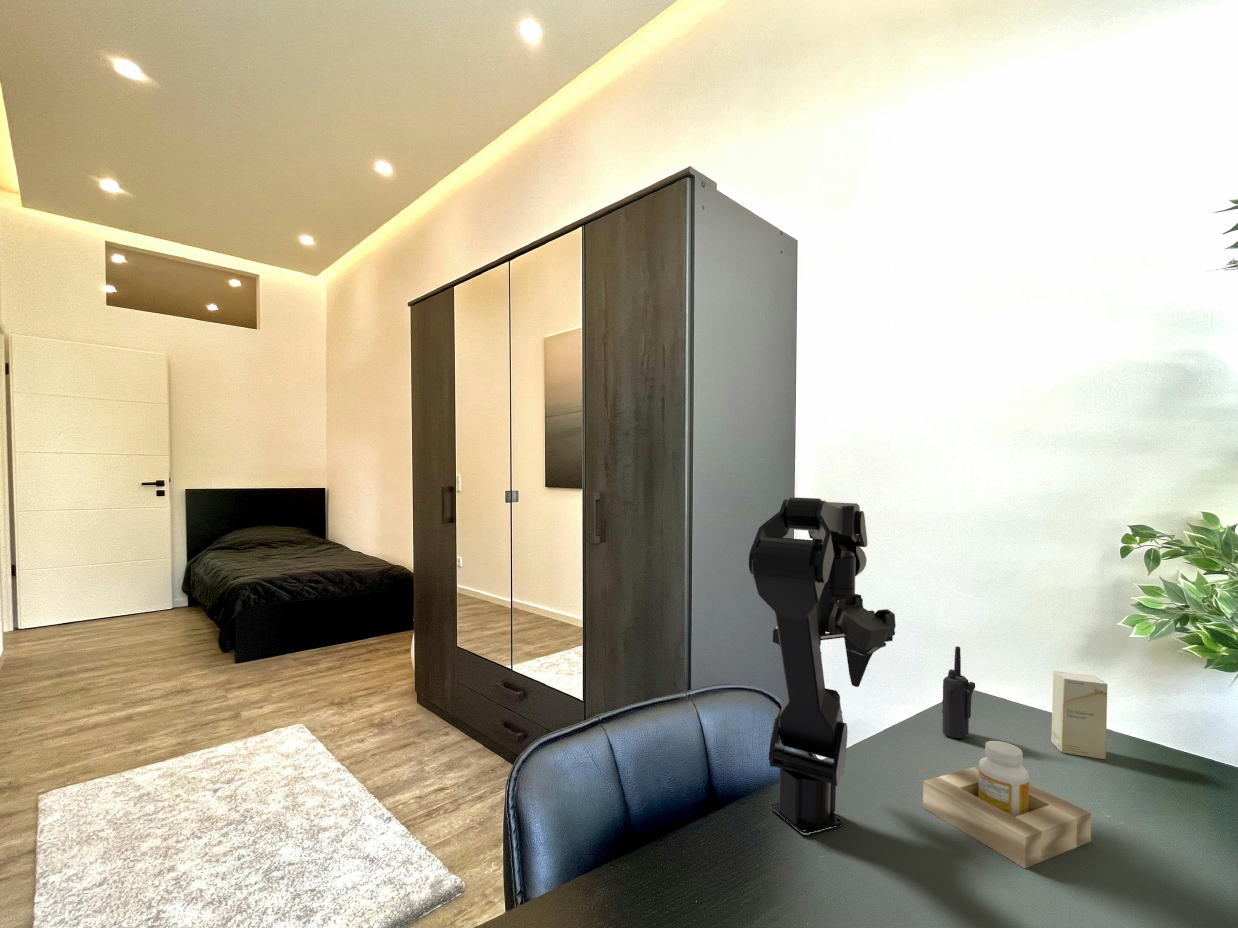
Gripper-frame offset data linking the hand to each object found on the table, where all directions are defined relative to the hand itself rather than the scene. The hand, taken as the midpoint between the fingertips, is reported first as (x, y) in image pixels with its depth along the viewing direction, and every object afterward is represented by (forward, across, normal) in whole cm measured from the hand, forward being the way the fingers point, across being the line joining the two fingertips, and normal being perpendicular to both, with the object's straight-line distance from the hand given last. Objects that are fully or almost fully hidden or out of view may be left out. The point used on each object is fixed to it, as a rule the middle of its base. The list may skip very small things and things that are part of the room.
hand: (832, 689), depth 87 cm
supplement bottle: (+12, +11, -18) cm, 25 cm away
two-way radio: (+12, +30, +1) cm, 33 cm away
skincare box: (+12, +44, -10) cm, 47 cm away
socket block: (+12, +11, -18) cm, 25 cm away
